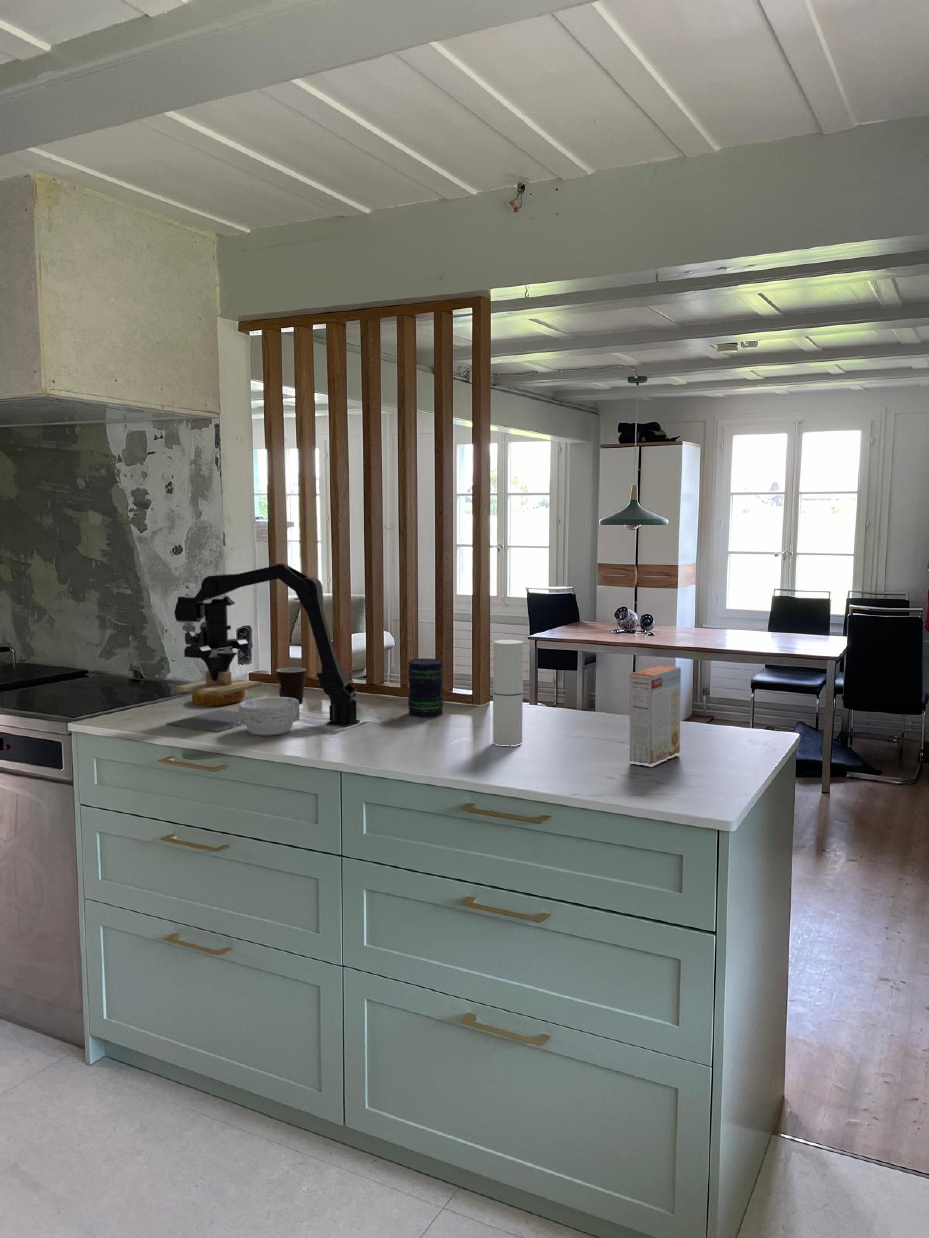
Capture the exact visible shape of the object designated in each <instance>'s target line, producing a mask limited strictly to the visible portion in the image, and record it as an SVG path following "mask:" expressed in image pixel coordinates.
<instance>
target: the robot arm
mask: <svg viewBox="0 0 929 1238" xmlns="http://www.w3.org/2000/svg"><path fill="white" fill-rule="evenodd" d="M274 580H279V581H281V582H282V583H284V585H286V586H287V587H288V588H289V589H291V590H293V591H294V592H295V594H296V597H297V599H298V600H299V603H300V605H301V606H302V608H303V609H304V610H305V612H306V614H307V617H308V621H309V625H310V627H311V632H312V634H313V638H314V642H315V646H316V649H317V652H318V656H319V660H320V664H321V670H319V671H318V672H317V673H316V677H317V679H318V681H319V689H322V690H323V692H324V694H325V695H327V696H328V697H329V700H330V704H329V705H328V706H329V711H328V712H329V720H328V721H327V723H326V724H327V725H332V726H333V725H335V726H340V727H341V726H342V727H349V726H352V725H355V724H358V723H360V722H361V720H360V719H357V700H356V699H355V698H356V695H357V692H358V691H357V689H356V687H354V686H353V685H352V684H351V683H350V682H349V678H348V675H347V674H346V671H345V670H344V667H343V666H342V665H341V662H340V661H339V660H338V658H337V653H336V651H335V647H334V643H333V641H332V636H331V632H330V629H329V626H328V622H327V618H326V615H325V612H324V593H323V592H324V591H323V585H322V582H321V580H320V579H318V578H317V577H314V576H307V574H304V573H303V572H300V570H297V569H295V568H293V567H291V566H290V565H288V564H287V563H285V562H280V563H276V564H275V565H271V566H268V567H263V568H258V569H254V570H249V571H245V572H242V573H225V574H212V575H208V576H206V577H204V578H203V579H202V581H201V585H200V589H199V591H197V594H196V595H195V596H191V597H190V596H178V597H177V601H176V605H175V609H174V618H175V621H176V622H178V623H200V622H201V621H202V619H204V625H202V626H201V628H200V632H198V633H195V631H188V632H185V633H184V642H185V644H186V647H184V649H183V652H184V653H183V654H184V658H190V659H191V658H192V659H193V658H194V659H201V660H202V661H203V662H204V663H205V665H206V668H207V669H208V670H207V671H209V672H210V675H211V677H212V680H213V681H217V677H218V672H219V671H224V672H228V670H229V668H230V665H231V663H232V662H233V660H234V658H235V657H236V656H237V655H238V652H234V649H237V650H240V651H241V652H243V651H248V650H249V642H248V641H247V639H245V638H244V639H243V638H229V633H228V632H229V630H231V629H232V627H231V624H230V625H228V606H229V607H230V606H233V605H235V604H236V603H235V601H233V600H232V599H231V598H230V597H229V596H228V595H226V594H228V593H229V594H230V593H231V592H234V591H236V590H238V589H239V588H242V587H247V586H252V585H256V584H260V583H264V582H268V581H274ZM224 595H226V596H224ZM221 596H224V597H223V598H217V597H221ZM208 600H211V601H210V602H206V601H208ZM204 601H205V602H204Z"/></svg>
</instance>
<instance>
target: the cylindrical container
mask: <svg viewBox="0 0 929 1238" xmlns="http://www.w3.org/2000/svg"><path fill="white" fill-rule="evenodd" d="M492 643H493V647H492V648H493V649H492V650H493V652H492V654H493V656H492V657H493V658H492V659H493V660H492V661H493V662H492V663H493V664H492V675H493V676H492V683H493V684H492V685H493V686H492V744H493V743H495V744H498V745H509V746H511V745H517V744H520V743H522V744H523V707H524V706H523V701H524V696H523V695H524V694H523V693H524V692H523V690H524V687H523V686H524V685H523V682H524V641H523V640H518V639H498V640H494V641H493V642H492Z"/></svg>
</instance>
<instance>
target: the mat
mask: <svg viewBox="0 0 929 1238" xmlns="http://www.w3.org/2000/svg"><path fill="white" fill-rule="evenodd" d="M239 722H240V721H239V711H232V710H224V709H217V710H214V711H209V712H205V713H202V714H198V715H194V716H190V717H185V718H182V719H178V720H177V719H176V720H174V721H169V722H166V724H165V725H167V726H172V727H178V726H182V727H181V728H185V727H188V728H187V729H192V728H193V730H199V729H202V730H201V731H206V732H214V733H221V732H223V730H224V731H227V730H226V729H228V730H231V729H233V728H232V727H234V726H238V727H240V726H239V725H241V723H239ZM230 728H231V729H230Z"/></svg>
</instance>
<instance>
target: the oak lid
mask: <svg viewBox="0 0 929 1238" xmlns="http://www.w3.org/2000/svg"><path fill="white" fill-rule="evenodd" d="M261 686H263V682H262V681H254V680H246V679H245V680H243V679H234V678H232V672H231V671H227V672H224V671H219V672H218V677H217V681H213V680H212V677H211V675H210V672H209V670H206V671H205V679H204V680H200V681H195V682H190V683H186V684H185V683H184V684H181V685H176V686H174V691H177V692H185V693H192V694H193V693H202V694H210V695H219V696H221V695H225V694H229V693H234V692H238V691H242V690H244V691H246V690H250V689H253V688H254V689H255V688H258V687H261Z"/></svg>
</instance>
